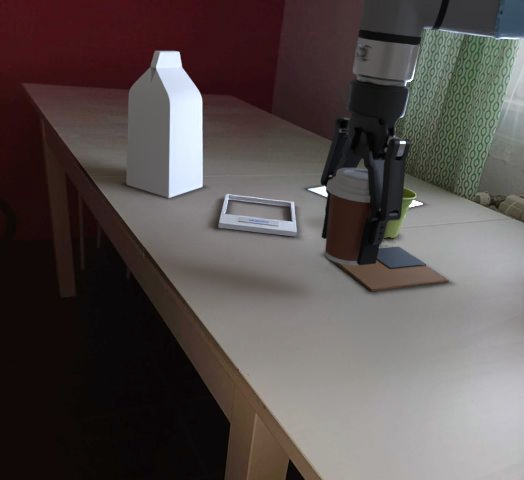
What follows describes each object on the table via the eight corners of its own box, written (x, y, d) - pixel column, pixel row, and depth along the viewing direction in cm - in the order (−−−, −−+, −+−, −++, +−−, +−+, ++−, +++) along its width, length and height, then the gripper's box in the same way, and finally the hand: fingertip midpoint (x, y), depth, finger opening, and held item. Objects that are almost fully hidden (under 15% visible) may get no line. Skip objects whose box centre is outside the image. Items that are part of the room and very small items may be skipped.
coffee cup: (388, 260, 80) (408, 178, 74) (352, 274, 74) (370, 187, 68) (340, 240, 85) (354, 162, 79) (302, 252, 79) (315, 169, 73)
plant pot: (366, 221, 113) (375, 180, 109) (409, 232, 110) (421, 190, 106) (352, 233, 106) (362, 190, 101) (399, 246, 103) (411, 201, 98)
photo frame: (218, 221, 99) (226, 193, 114) (218, 227, 100) (225, 198, 115) (297, 230, 100) (294, 201, 115) (296, 236, 101) (293, 206, 116)
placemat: (448, 282, 91) (449, 279, 91) (371, 291, 85) (372, 288, 84) (398, 249, 102) (398, 246, 101) (326, 255, 95) (326, 252, 95)
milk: (168, 197, 111) (171, 56, 97) (126, 184, 116) (123, 46, 101) (202, 186, 120) (209, 55, 106) (162, 174, 125) (163, 47, 111)
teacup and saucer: (343, 196, 127) (346, 179, 124) (363, 192, 132) (367, 175, 129) (372, 208, 122) (376, 190, 119) (393, 203, 127) (397, 186, 124)
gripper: (311, 66, 73) (290, 225, 86) (412, 94, 57) (368, 284, 69) (357, 70, 76) (330, 222, 89) (464, 97, 60) (414, 279, 73)
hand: (347, 249), depth 79 cm, fingers closed on coffee cup, 9 cm apart
